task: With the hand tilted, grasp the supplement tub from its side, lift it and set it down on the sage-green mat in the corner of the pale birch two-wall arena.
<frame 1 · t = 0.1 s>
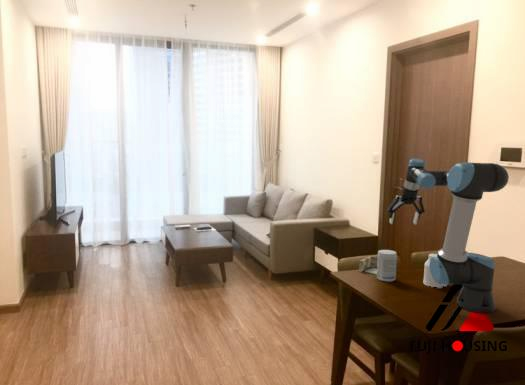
hand: (402, 223, 230), 28 cm above the table, tool tilted 20°, fingers open, 13 cm apart
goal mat: (377, 271, 233), on the table
supplement tub: (385, 279, 221), on the table
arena: (377, 271, 233), on the table
jar: (435, 284, 215), on the table
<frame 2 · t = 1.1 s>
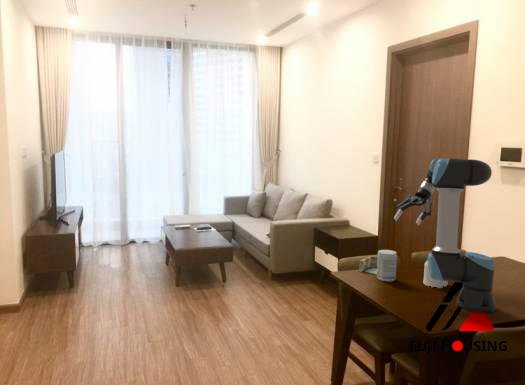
hand: (406, 221, 223), 30 cm above the table, tool tilted 45°, fingers open, 13 cm apart
nothing on the table moved.
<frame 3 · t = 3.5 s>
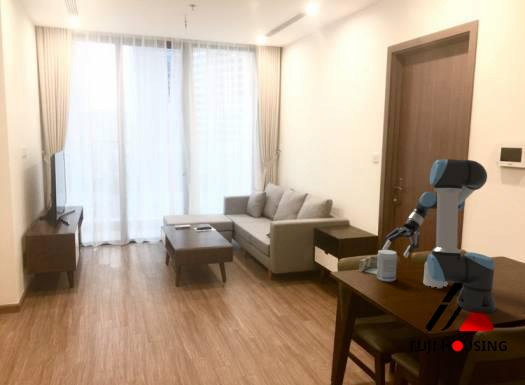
hand: (394, 253, 224), 13 cm above the table, tool tilted 45°, fingers open, 13 cm apart
nothing on the table moved.
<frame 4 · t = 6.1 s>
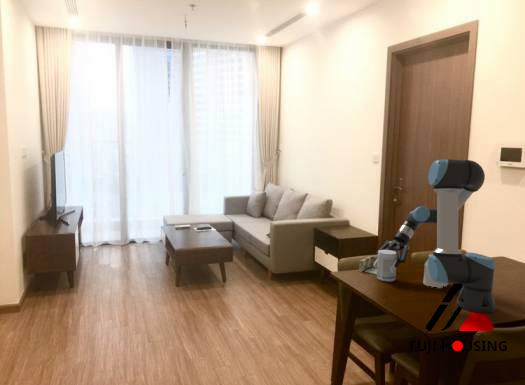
hand: (382, 269, 218), 6 cm above the table, tool tilted 45°, fingers closed on supplement tub, 10 cm apart
supplement tub: (385, 279, 221), on the table, touching gripper
everything else where it was.
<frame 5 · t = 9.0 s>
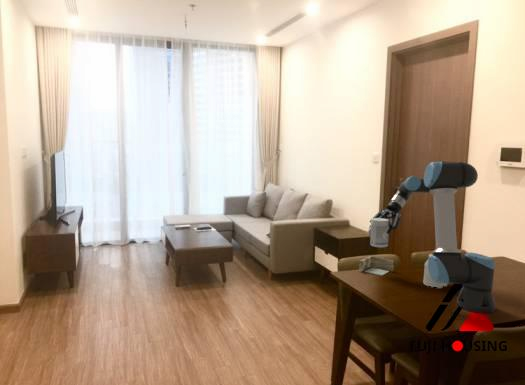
hand: (375, 235, 229), 21 cm above the table, tool tilted 45°, fingers closed on supplement tub, 9 cm apart
supplement tub: (378, 246, 232), point 15 cm above the table, touching gripper
everything else where it was.
when the fingers open (7 cm above the table, at t = 11.9 s): supplement tub drops 1 cm, resting on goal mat.
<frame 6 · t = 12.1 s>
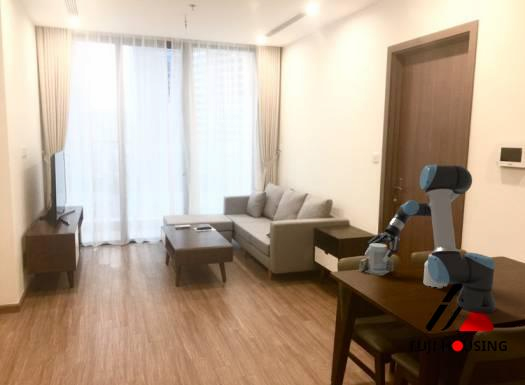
hand: (374, 258, 231), 8 cm above the table, tool tilted 45°, fingers open, 12 cm apart
supplement tub: (376, 271, 234), resting on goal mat
everything else where it was.
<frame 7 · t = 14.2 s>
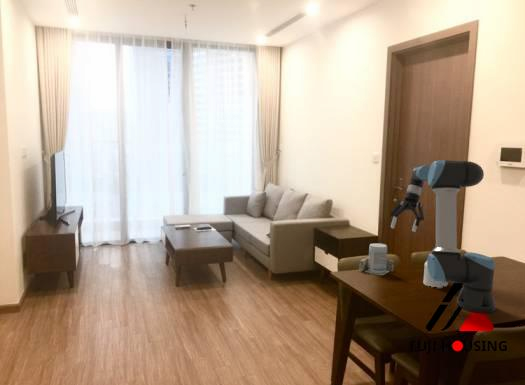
hand: (402, 229, 234), 23 cm above the table, tool tilted 25°, fingers open, 13 cm apart
nothing on the table moved.
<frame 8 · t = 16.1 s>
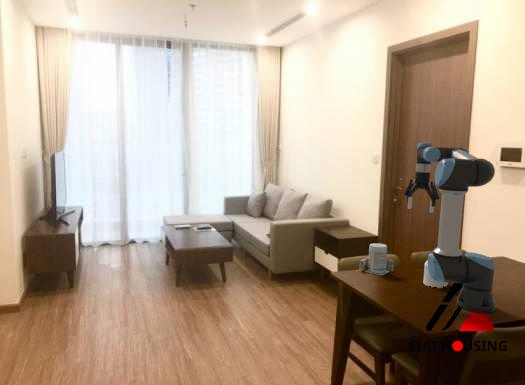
hand: (420, 210, 231), 35 cm above the table, tool pointing down, fingers open, 13 cm apart
nothing on the table moved.
at the end: supplement tub inside the target area (0.2 cm from its centre), resting on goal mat; supplement tub tilted 0°; the gripper is holding nothing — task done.
